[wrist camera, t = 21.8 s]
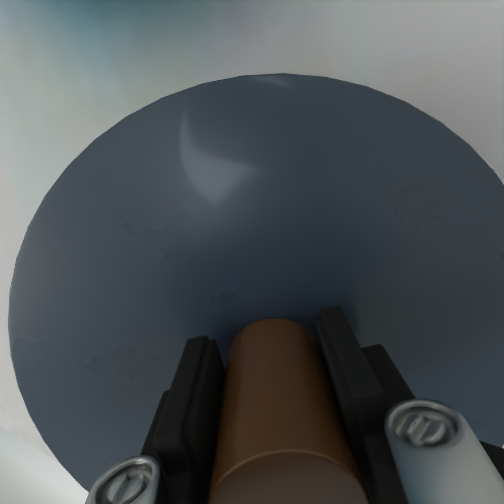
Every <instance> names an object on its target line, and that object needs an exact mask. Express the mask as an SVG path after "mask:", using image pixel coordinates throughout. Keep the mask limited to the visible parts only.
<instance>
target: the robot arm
mask: <svg viewBox="0 0 504 504" xmlns="http://www.w3.org/2000/svg"><path fill="white" fill-rule="evenodd" d="M314 321H315V326H316V330H317V334H318V339H319V343H320V348H321V352H322V355H323V358H324V361H325V365H326V368H327V371H328V374H329V377H330V380H331V383H332V386H333V390H334V393H335V396H336V399H337V402H338V405H339V408H340V411H341V415H342V418H343V421H344V424H345V427H346V430H347V433H348V437H349V440H350V443H351V446H352V449H353V452H354V455H355V458H356V460H357V462H358V465H359V468H360V471H361V474H362V477H363V481H364V484H365V487H366V490H367V493H368V496H369V499H370V504H504V449H503V448H501V447H498V446H495V445H492V444H489V443H486V442H483V441H480V440H478V439H477V437H476V436H475V434H474V432H473V431H472V429H471V428H470V426H469V424H468V423H467V421H466V420H465V418H464V417H463V416H462V415H461V414H460V413H459V411H458V410H456V409H455V408H453V407H452V406H450V405H448V404H446V403H443V402H441V401H438V400H433V399H426V398H417V399H416V397H415V396H414V394H413V393H412V391H411V390H410V388H409V386H408V385H407V383H406V382H405V380H404V379H403V377H402V375H401V374H400V372H399V371H398V369H397V367H396V366H395V364H394V363H393V361H392V360H391V358H390V356H389V355H388V353H387V352H386V350H385V349H384V347H383V346H382V345H381V344H377V345H372V346H368V347H363V348H361V347H360V345H359V343H358V341H357V339H356V337H355V335H354V333H353V331H352V330H351V328H350V326H349V324H348V322H347V320H346V318H345V316H344V314H343V312H342V310H341V308H340V306H339V305H338V306H333V307H329V308H324V309H320V315H317V316H314ZM224 377H225V368H224V365H223V361H222V358H221V355H220V352H219V348H218V345H217V342H216V340H215V339H210V340H209V338H208V336H207V335H205V336H201V337H197V338H192V339H188V340H187V342H186V345H185V348H184V350H183V353H182V356H181V359H180V362H179V365H178V367H177V370H176V373H175V376H174V379H173V382H172V385H171V387H170V390H166V391H164V393H163V394H162V397H161V399H160V402H159V405H158V408H157V410H156V413H155V416H154V418H153V421H152V424H151V426H150V429H149V432H148V434H147V437H146V440H145V442H144V445H143V448H142V450H141V453H140V455H138V456H132V457H129V458H127V459H124V460H122V461H120V462H118V463H117V464H115V465H113V466H112V467H110V468H109V469H108V470H107V471H106V472H104V473H103V474H102V475H101V476H100V477H99V479H98V480H97V481H96V482H95V483H94V485H93V487H92V489H91V490H90V492H89V495H88V497H87V500H86V502H85V504H208V498H209V490H210V483H211V475H212V468H213V460H214V453H215V445H216V438H217V430H218V423H219V415H220V407H221V400H222V392H223V385H224Z"/></svg>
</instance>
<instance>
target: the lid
mask: <svg viewBox="0 0 504 504" xmlns="http://www.w3.org/2000/svg"><path fill="white" fill-rule="evenodd" d="M338 305H339V306H340V308H341V310H342V312H343V314H344V316H345V318H346V320H347V322H348V324H349V326H350V328H351V330H352V331H353V333H354V335H355V337H356V339H357V341H358V343H359V345H360V347H361V348H363V347H368V346H372V345H377V344H381V345H382V346H383V347H384V349H385V350H386V352H387V353H388V355H389V356H390V358H391V360H392V361H393V363H394V364H395V366H396V367H397V369H398V371H399V372H400V374H401V375H402V377H403V379H404V380H405V382H406V383H407V385H408V386H409V388H410V390H411V391H412V393H413V394H414V396H415V397H416V399H417V398H426V399H433V400H438V401H441V402H443V403H446V404H448V405H450V406H452V407H453V408H455V409H456V410H458V411H459V413H460V414H461V415H462V416H463V417H464V418H465V420H466V421H467V423H468V424H469V426H470V428H471V429H472V431H473V432H474V434H475V436H476V437H477V439H478V440H480V441H483V442H486V443H489V444H492V445H495V446H498V447H501V448H502V446H503V445H504V185H503V183H502V182H501V180H500V179H499V177H498V176H497V174H496V173H495V172H494V171H493V170H492V169H491V167H490V166H489V165H488V164H487V163H486V162H485V161H484V160H483V159H482V158H481V157H480V156H479V155H478V153H477V152H476V151H475V150H474V149H473V148H472V147H471V146H470V145H469V144H468V143H466V142H465V141H464V140H463V139H461V138H460V137H459V136H458V135H456V134H455V133H454V132H453V131H451V130H450V129H449V128H447V127H446V126H445V125H444V124H442V123H441V122H440V121H438V120H437V119H435V118H433V117H431V116H430V115H428V114H426V113H424V112H423V111H421V110H419V109H417V108H416V107H414V106H412V105H410V104H409V103H407V102H405V101H403V100H400V99H398V98H395V97H393V96H390V95H388V94H385V93H383V92H380V91H377V90H375V89H372V88H370V87H367V86H363V85H359V84H355V83H350V82H346V81H342V80H338V79H333V78H329V77H322V76H310V75H299V74H287V73H280V74H263V75H245V76H238V77H233V78H228V79H223V80H218V81H213V82H208V83H203V84H200V85H197V86H194V87H191V88H188V89H185V90H183V91H180V92H177V93H174V94H171V95H168V96H166V97H163V98H161V99H159V100H157V101H155V102H153V103H151V104H149V105H147V106H146V107H144V108H142V109H140V110H138V111H136V112H134V113H132V114H130V115H128V116H127V117H125V118H124V119H122V120H121V121H120V122H118V123H117V124H116V125H114V126H113V127H111V128H110V129H109V130H107V131H106V132H105V133H103V134H102V135H100V136H99V137H98V138H96V139H95V140H94V141H93V142H92V143H91V144H90V145H89V146H88V147H87V148H86V149H85V150H84V151H83V152H82V153H81V154H80V155H79V156H77V157H76V158H75V159H74V160H73V161H72V162H71V163H70V164H69V165H68V166H67V168H66V169H65V170H64V172H63V173H62V174H61V176H60V177H59V178H58V180H57V181H56V182H55V183H54V185H53V186H52V187H51V189H50V190H49V191H48V193H47V194H46V195H45V197H44V199H43V201H42V203H41V204H40V206H39V208H38V210H37V212H36V214H35V215H34V217H33V219H32V221H31V223H30V225H29V226H28V229H27V232H26V234H25V237H24V240H23V243H22V245H21V248H20V251H19V254H18V256H17V259H16V264H15V269H14V274H13V279H12V283H11V288H10V296H9V316H8V330H9V340H10V351H11V358H12V362H13V367H14V371H15V375H16V379H17V383H18V387H19V389H20V392H21V395H22V397H23V400H24V402H25V405H26V407H27V410H28V412H29V415H30V417H31V419H32V420H33V422H34V424H35V426H36V428H37V429H38V431H39V433H40V435H41V437H42V438H43V440H44V442H45V443H46V444H47V446H48V447H49V449H50V450H51V451H52V453H53V454H54V455H55V457H56V458H57V459H58V461H59V462H60V464H61V465H62V466H63V467H64V468H65V469H66V470H67V471H68V472H69V473H70V474H71V475H72V477H73V478H74V479H75V480H76V481H77V482H78V483H79V484H80V485H81V486H82V487H83V488H84V489H85V490H87V491H88V492H90V490H91V489H92V487H93V485H94V483H95V482H96V481H97V480H98V479H99V477H100V476H101V475H102V474H103V473H104V472H106V471H107V470H108V469H109V468H110V467H112V466H113V465H115V464H117V463H118V462H120V461H122V460H124V459H127V458H129V457H132V456H138V455H140V453H141V450H142V448H143V445H144V442H145V440H146V437H147V434H148V432H149V429H150V426H151V424H152V421H153V418H154V416H155V413H156V410H157V408H158V405H159V402H160V399H161V397H162V394H163V393H164V391H166V390H170V387H171V385H172V382H173V379H174V376H175V373H176V370H177V367H178V365H179V362H180V359H181V356H182V353H183V350H184V348H185V345H186V342H187V340H188V339H192V338H197V337H201V336H205V335H207V336H208V338H209V340H210V339H215V340H216V342H217V345H218V348H219V352H220V355H221V358H222V361H223V365H224V368H225V377H224V385H223V392H222V400H221V407H220V415H219V423H218V430H217V438H216V445H215V453H214V460H213V468H212V475H211V483H210V490H209V498H208V504H370V499H369V496H368V493H367V490H366V487H365V484H364V481H363V477H362V474H361V471H360V468H359V465H358V462H357V460H356V458H355V455H354V452H353V449H352V446H351V443H350V440H349V437H348V433H347V430H346V427H345V424H344V421H343V418H342V415H341V411H340V408H339V405H338V402H337V399H336V396H335V393H334V390H333V386H332V383H331V380H330V377H329V374H328V371H327V368H326V365H325V361H324V358H323V355H322V352H321V348H320V343H319V339H318V334H317V330H316V326H315V321H314V316H317V315H320V309H324V308H329V307H333V306H338Z"/></svg>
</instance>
